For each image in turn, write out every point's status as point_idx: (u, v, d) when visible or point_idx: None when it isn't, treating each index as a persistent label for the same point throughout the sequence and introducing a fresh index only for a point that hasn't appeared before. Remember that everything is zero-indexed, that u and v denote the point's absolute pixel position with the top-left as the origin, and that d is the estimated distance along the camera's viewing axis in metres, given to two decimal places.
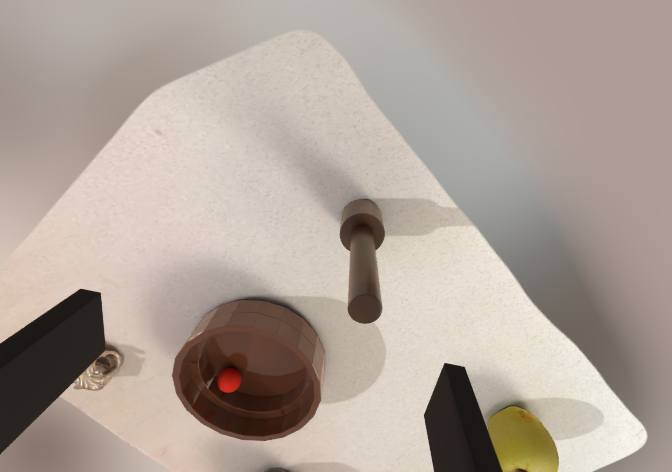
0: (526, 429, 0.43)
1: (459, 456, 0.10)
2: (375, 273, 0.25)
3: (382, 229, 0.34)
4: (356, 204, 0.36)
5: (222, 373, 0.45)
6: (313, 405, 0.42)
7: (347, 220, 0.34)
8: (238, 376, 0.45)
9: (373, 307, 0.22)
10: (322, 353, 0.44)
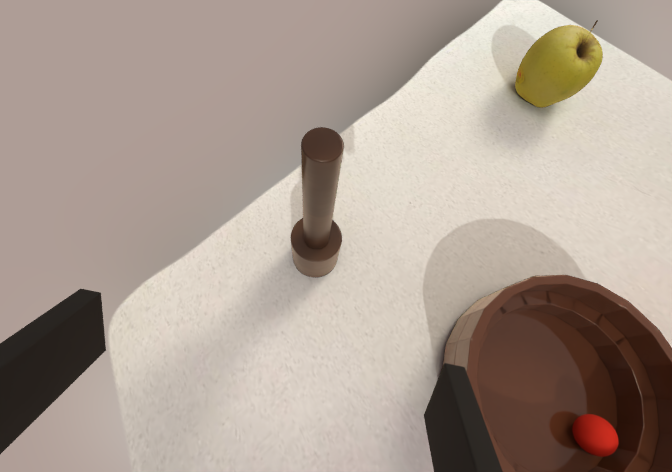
0: (529, 64, 0.40)
1: (459, 456, 0.10)
2: None
3: None
4: (293, 256, 0.33)
5: (584, 446, 0.28)
6: (579, 284, 0.29)
7: (299, 253, 0.29)
8: (581, 417, 0.29)
9: (318, 135, 0.18)
10: None
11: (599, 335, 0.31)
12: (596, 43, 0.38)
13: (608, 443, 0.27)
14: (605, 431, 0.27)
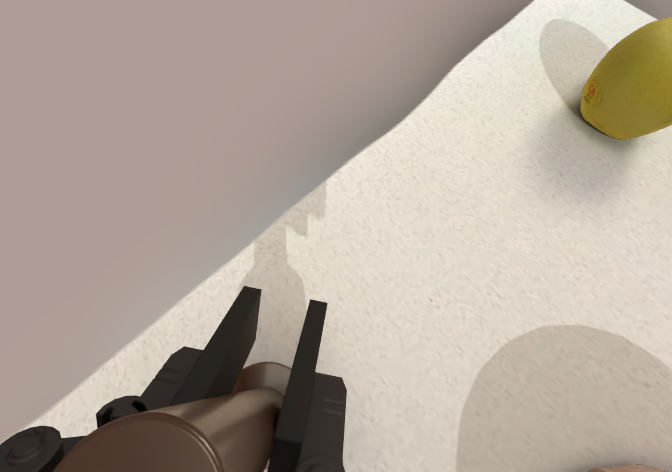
0: (613, 77, 0.26)
1: None
2: None
3: (252, 368, 0.17)
4: None
5: None
6: None
7: None
8: None
9: (117, 469, 0.04)
10: None
11: None
12: None
13: None
14: None
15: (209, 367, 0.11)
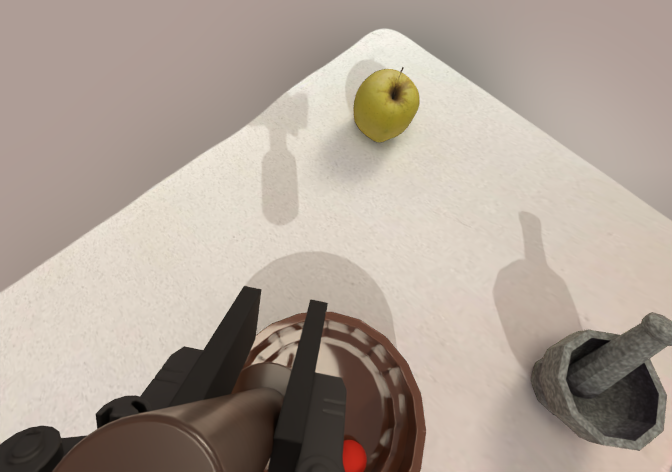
0: (354, 104, 0.43)
1: None
2: None
3: (252, 368, 0.17)
4: None
5: None
6: (341, 320, 0.32)
7: None
8: None
9: (116, 470, 0.04)
10: None
11: (373, 365, 0.34)
12: (409, 87, 0.41)
13: (350, 468, 0.29)
14: (350, 457, 0.30)
15: (209, 367, 0.11)
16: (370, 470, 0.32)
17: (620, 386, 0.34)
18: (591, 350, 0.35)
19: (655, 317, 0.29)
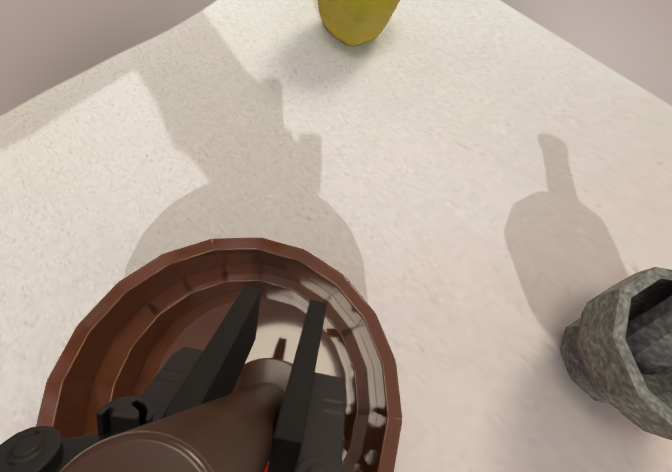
0: None
1: None
2: None
3: (251, 364, 0.17)
4: None
5: None
6: (275, 250, 0.21)
7: None
8: None
9: None
10: None
11: (329, 324, 0.23)
12: None
13: None
14: None
15: (209, 367, 0.11)
16: None
17: None
18: (652, 304, 0.24)
19: None
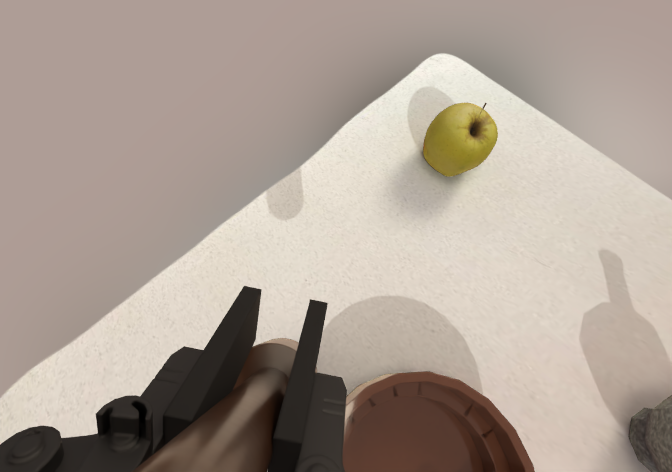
0: (428, 139, 0.41)
1: None
2: None
3: None
4: None
5: None
6: (441, 382, 0.30)
7: None
8: None
9: None
10: (382, 376, 0.34)
11: (469, 426, 0.32)
12: (489, 122, 0.39)
13: None
14: None
15: (209, 367, 0.11)
16: None
17: None
18: None
19: None
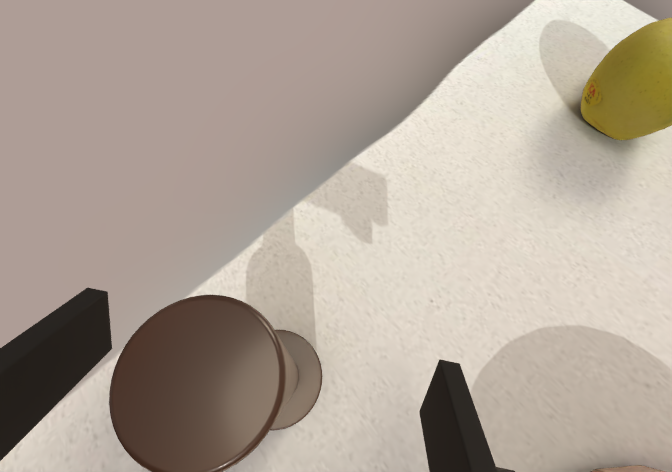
0: (613, 77, 0.26)
1: (453, 451, 0.10)
2: None
3: None
4: None
5: None
6: None
7: None
8: None
9: (177, 342, 0.05)
10: None
11: None
12: None
13: None
14: None
15: None
16: None
17: None
18: None
19: None
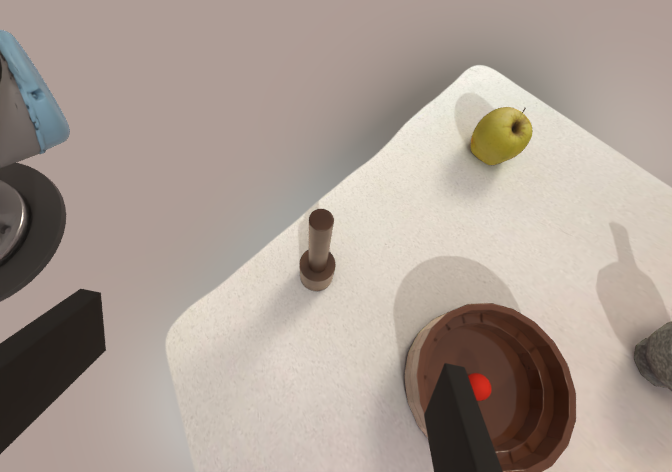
0: (478, 135, 0.52)
1: (459, 456, 0.10)
2: None
3: (308, 250, 0.43)
4: (302, 280, 0.45)
5: None
6: (500, 310, 0.41)
7: (309, 278, 0.42)
8: None
9: (317, 214, 0.31)
10: None
11: (518, 345, 0.43)
12: (526, 122, 0.50)
13: None
14: None
15: None
16: (521, 425, 0.41)
17: None
18: None
19: None
